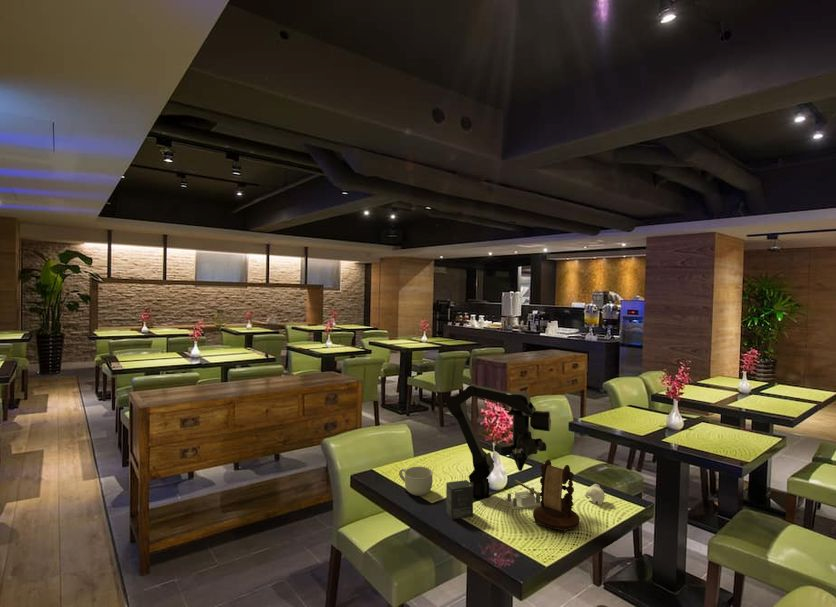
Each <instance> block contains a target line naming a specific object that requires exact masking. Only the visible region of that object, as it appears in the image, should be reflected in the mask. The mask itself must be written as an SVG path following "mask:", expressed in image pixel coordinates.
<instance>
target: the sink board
mask: <svg viewBox="0 0 836 607" xmlns="http://www.w3.org/2000/svg"><path fill="white" fill-rule="evenodd" d="M530 488H531V489H533V490H535V488H534V487H530ZM540 493H541V491H536V494H535V493H533V492H531V491H530V490H526V491H525V490H524V491H518V492H515V493H514V498H512V493H507V499H504V502H505V503H506V504H507V505H508V506H510V508H512V509H513V510H515V511H516V510H522V509H529V508H536V507H539V506H541V504H540V503H541V496H540Z"/></svg>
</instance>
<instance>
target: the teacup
mask: <svg viewBox="0 0 836 607" xmlns="http://www.w3.org/2000/svg"><path fill="white" fill-rule="evenodd" d="M403 472H404V474H403ZM398 475H399V478H400V479H401V480H402V482H404V485H405V486H404V487H405V489H406V491H407V492H408V493H409V494H410V495H412V496H418V497H419V496H424V495H426V494H428V493H429V492H430V491H431V490H432V488H433V475H434V472H433V470H432V469H430V468H429V467H426V466H418V465H417V466H412V467H409V468H401V469H399V471H398Z"/></svg>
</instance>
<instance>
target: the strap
mask: <svg viewBox="0 0 836 607" xmlns="http://www.w3.org/2000/svg"><path fill="white" fill-rule="evenodd" d="M514 482H515V483H517V485H519V486H521V487H523V488H525V489H526V490H527V491H529V492H530V491H531V492H533V493H534V495H536V492H537V491H536V490H535V489H534V490H533V489H531V488H532V487H529V486H528V485H525V484H524V483H522V482H520V481H519V480H517V479H515V478H514Z"/></svg>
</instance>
